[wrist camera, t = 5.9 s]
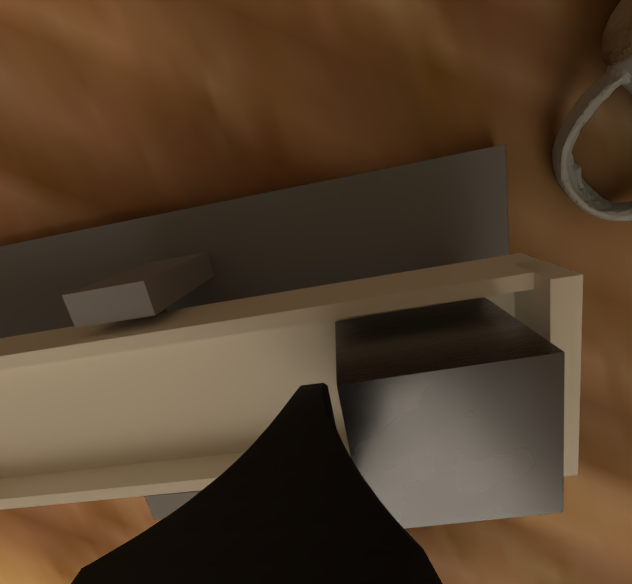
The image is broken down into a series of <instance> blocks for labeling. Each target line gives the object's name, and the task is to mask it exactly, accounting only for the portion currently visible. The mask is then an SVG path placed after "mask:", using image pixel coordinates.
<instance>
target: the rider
mask: <svg viewBox="0 0 632 584" xmlns="http://www.w3.org/2000/svg"><path fill="white" fill-rule="evenodd" d="M335 339H336V380H337V389H338V395H339V400H340V405H341V410H342V415H343V420H344V425H345V430H346V435H347V440H348V445H349V450H350V455H351V458H352V460H353V462H354V464H355V465H356V467H357V468H358V470H359V472H360V473H361V475H362V476H363V478H364V479H365V481H366V482H367V483H368V485H369V486H370V487H371V489H372V490H373V492H374V493H375V494H376V496H377V497H378V498H379V500H380V501H381V502H382V504H383V505H384V506H385V507H386V508H387V510H388V511H389V512H390V513H391V514H392V516H393V517H394V518H395V519H396V520H397V522H398V523H399V524H400V525H401V526H402V527H403V528H414V527H424V526H434V525H443V524H453V523H463V522H473V521H483V520H493V519H502V518H512V517H522V516H532V515H542V514H552V513H561V512H563V483H564V373H565V352H564V351H562V350H561V349H559V348H558V347H557V346H555V345H554V344H552V343H551V342H549V341H548V340H546V339H545V338H543V337H542V336H541V335H539V334H538V333H536V332H535V331H533V330H532V329H530V328H529V327H527V326H526V325H525V324H523V323H522V322H520V321H519V320H517V319H516V318H514V317H513V316H511V315H510V314H509V313H507V312H506V311H504V310H503V309H501V308H500V307H498V306H497V305H496V304H494V303H493V302H491V301H490V300H488V299H487V298H485V297H483V298H477V299H471V300H465V301H459V302H453V303H446V304H440V305H434V306H428V307H422V308H416V309H410V310H403V311H397V312H391V313H385V314H379V315H373V316H367V317H360V318H354V319H348V320H342V321H336V322H335Z"/></svg>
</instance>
